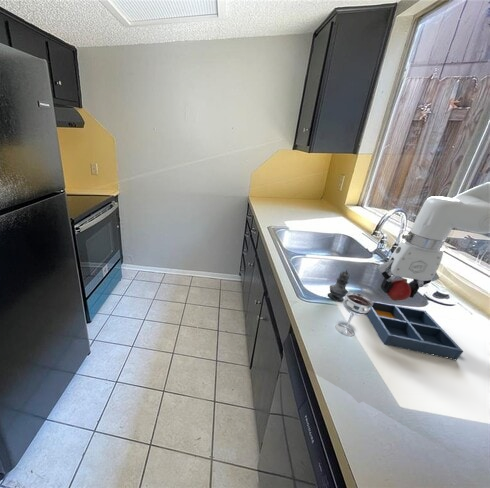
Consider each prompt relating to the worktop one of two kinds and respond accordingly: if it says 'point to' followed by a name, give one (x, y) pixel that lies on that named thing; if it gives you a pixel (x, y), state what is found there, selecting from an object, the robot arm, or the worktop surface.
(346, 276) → the dark grey statuette
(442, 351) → the grid
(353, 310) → the wineglass
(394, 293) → the onion
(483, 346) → the worktop surface
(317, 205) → the worktop surface
